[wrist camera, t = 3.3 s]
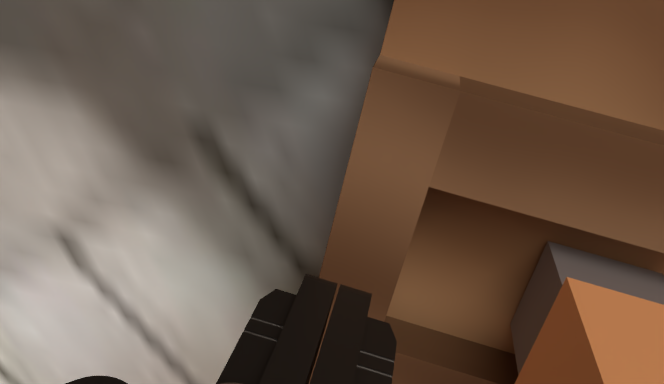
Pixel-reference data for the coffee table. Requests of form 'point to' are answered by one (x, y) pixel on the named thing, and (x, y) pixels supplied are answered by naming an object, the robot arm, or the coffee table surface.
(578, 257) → the fader
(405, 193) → the console
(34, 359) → the coffee table surface
